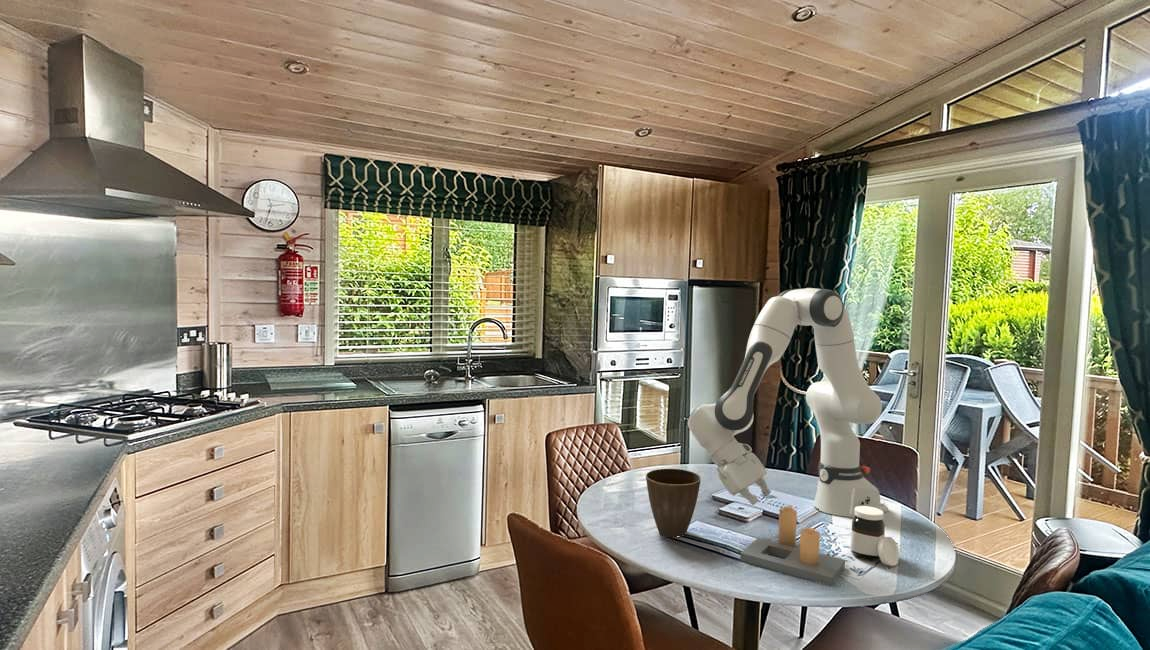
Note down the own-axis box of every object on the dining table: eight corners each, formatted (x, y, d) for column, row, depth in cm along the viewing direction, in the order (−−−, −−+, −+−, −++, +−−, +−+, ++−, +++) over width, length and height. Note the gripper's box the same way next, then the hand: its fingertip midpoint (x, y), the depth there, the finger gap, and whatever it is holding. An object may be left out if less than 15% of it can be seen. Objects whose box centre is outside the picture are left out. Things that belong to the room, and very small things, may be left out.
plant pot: (669, 548, 169) (671, 487, 168) (633, 529, 181) (634, 473, 180) (710, 536, 177) (712, 479, 176) (673, 519, 189) (675, 465, 188)
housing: (740, 560, 162) (741, 521, 161) (757, 545, 171) (758, 508, 171) (831, 586, 149) (833, 543, 148) (844, 568, 158) (846, 528, 158)
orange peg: (788, 539, 176) (789, 503, 175) (799, 546, 171) (800, 509, 171) (774, 541, 174) (776, 505, 173) (785, 548, 170) (786, 510, 169)
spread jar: (853, 544, 173) (855, 502, 172) (900, 554, 167) (902, 510, 167) (846, 560, 163) (849, 515, 162) (897, 571, 157) (899, 524, 156)
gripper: (722, 458, 172) (756, 502, 166) (751, 443, 188) (783, 483, 183) (706, 471, 174) (739, 515, 169) (735, 456, 191) (767, 495, 186)
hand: (762, 498), depth 176 cm, fingers open, 8 cm apart
